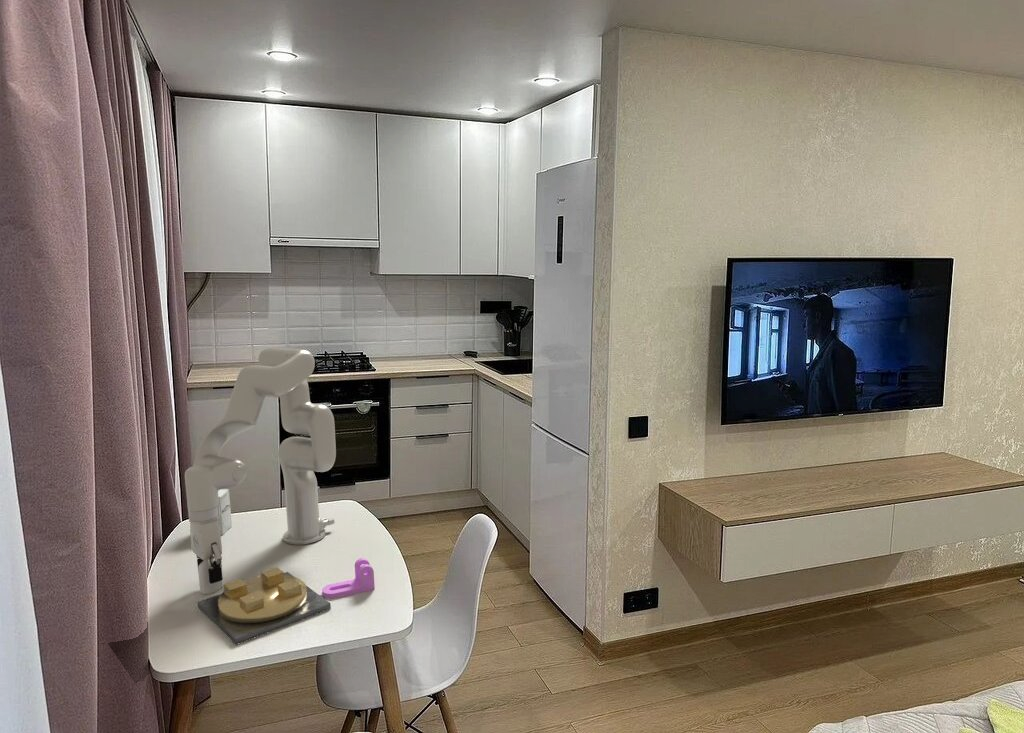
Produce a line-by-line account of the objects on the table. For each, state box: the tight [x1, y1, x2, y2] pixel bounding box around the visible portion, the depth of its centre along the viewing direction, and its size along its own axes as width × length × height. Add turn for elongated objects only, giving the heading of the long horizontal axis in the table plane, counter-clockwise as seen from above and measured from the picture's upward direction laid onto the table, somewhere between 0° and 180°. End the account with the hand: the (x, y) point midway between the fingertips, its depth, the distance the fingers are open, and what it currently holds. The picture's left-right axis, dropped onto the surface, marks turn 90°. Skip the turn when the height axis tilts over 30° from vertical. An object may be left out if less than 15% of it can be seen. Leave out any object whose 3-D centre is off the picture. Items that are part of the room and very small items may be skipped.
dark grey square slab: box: [197, 571, 332, 645], centre depth 189 cm, size 24×24×2 cm
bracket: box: [321, 557, 376, 599], centre depth 197 cm, size 13×6×7 cm, turn 114°
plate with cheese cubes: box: [218, 566, 307, 623], centre depth 188 cm, size 21×21×4 cm
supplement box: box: [218, 488, 233, 536], centre depth 237 cm, size 7×7×13 cm
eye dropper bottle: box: [197, 554, 224, 595], centre depth 198 cm, size 4×6×12 cm
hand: (210, 576), depth 198 cm, fingers open, 7 cm apart
